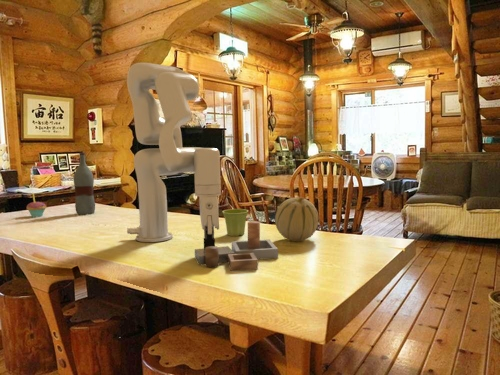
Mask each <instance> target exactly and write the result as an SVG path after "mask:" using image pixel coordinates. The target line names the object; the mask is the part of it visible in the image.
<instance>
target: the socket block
mask: <svg viewBox="0 0 500 375" xmlns="http://www.w3.org/2000/svg"><path fill="white" fill-rule="evenodd" d="M258 260H259V259H257V258H256V257H255V255H254V253H243V254H228V266H229V269H230V271H231V272H235V271H246V270H247V271H250V270H258V269H259V268H258V266H259V265H258V264H259V262H258Z"/></svg>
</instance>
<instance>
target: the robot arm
mask: <svg viewBox="0 0 500 375" xmlns="http://www.w3.org/2000/svg"><path fill="white" fill-rule="evenodd" d="M126 86H127V90H128V94H129V98H130V100H131V103H132V107H133V108H132V109H133V120H134V128H135V137H136V140H137V142H138V143H140V144H142V145H145V146H146V145H149V146H154V145H155V146H157V145H158V147H159V148H144V149H141V150H139V151H137V152H136V153H135V155H134V157H133V165H134V166H133V167H134V170H135V175H136V179H137V191H138V192H137V193H138V208H139V209H138V211H139V226H137V227H136V228H135V227H134V228H133V227H130V228H127V229H126V230H127V231H126V232H127V234H128V235H136V236H135V240H136V241H137V242H141V243H157V242H163V241H164V242H165V241H167V240H172V239H173V233H172V232H169V227H168V226H169V225H168V200H167V187H166V185H165V182H164V181H163V180H162V178H161V177H160V176H172V175H178V174H181V173H182V174H183V173H194V196H195V197H198V198H199V201H198V202H199V217H200V223H201V224H200V225H201V229H202V230H203V235H204V236H203V249H204V248H205V247H208V246H216V242H215V241H216V240H215V229H216V230H219V229H220V220H219V216H220V215H219V199H218V198H219V197H218V196H221V195H222V194H221V193H222V192H221V190H222V188H221V155H220V154H221V153H220V150H219V149H218V148H215V147H196V146H195V147H194V146H193V147H190V146H188V147H187V146H186V147H183V137H182V136H183V135H182V131H181V126H184V125H185V124H188V122H190V121H191V119H192V117H193V116H192V115H193V114H192V111H191V108H190V104H189V101H194V100H196V98H198V96H199V93H200V86H199V82H198V80H197V78H196V77H195V76H194V75H193V74H191V73H189V72H186V71H185V70H182V69H180V68H179V67H176V66H171V65H164V64H157V63H151V62H137V63H136V62H135V63H134V64H132V65H131V66H130V67H129V69H128V71H127V76H126ZM150 90H153V91H154V90H155V91H156V94H157V98H158V101H159V104H160V108H161V111H162V113H163V117H161V116H160V111H159V110H160V109H159V104H158V101H157V99H156V98H155V96H154V94H152V92H151V91H150Z"/></svg>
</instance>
